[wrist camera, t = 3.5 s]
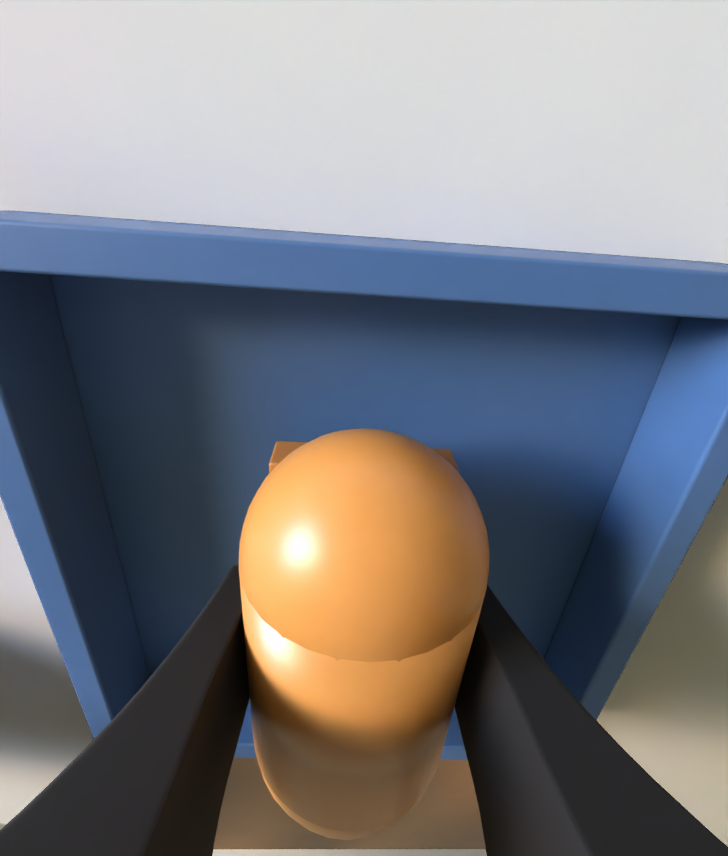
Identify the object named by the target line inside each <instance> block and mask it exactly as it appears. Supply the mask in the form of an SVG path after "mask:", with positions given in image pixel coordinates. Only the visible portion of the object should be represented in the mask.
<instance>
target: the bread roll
mask: <svg viewBox="0 0 728 856" xmlns="http://www.w3.org/2000/svg"><path fill="white" fill-rule="evenodd" d="M489 554H490V551H489V543H488V536H487V530H486V526H485V523H484V519H483V516H482V513H481V511H480V508H479V506H478V503H477V501H476V498H475V497H474V495H473V493H472V491H471V490H470V488H469V486H468V485H467V484H466V482H465V481H464V480H463V478H462V477H461V476H460V472H459V469H458V467H457V464H456V462H455V459H454V457H453V454H452V452H451V450H450V449H436V448H430V447H428V446H427V445H425V444H423V443H421V442H420V441H418V440H415V439H413V438H410V437H408V436H405V435H402V434H398V433H395V432H391V431H386V430H381V429H371V428H361V429H349V430H341V431H336V432H332V433H329V434H325V435H322V436H320V437H318V438H316V439H314V440H312V441H310V442H287V441H277V442H276V444H275V447H274V450H273V453H272V456H271V459H270V462H269V474H268V476H267V477H266V478H265V480H264V481H263V483H262V484H261V486H260V488H259V489H258V491H257V492H256V494H255V496H254V498H253V500H252V502H251V504H250V506H249V508H248V511H247V514H246V518H245V521H244V524H243V528H242V533H241V538H240V546H239V578H240V589H241V601H242V613H243V625H244V636H245V648H246V660H247V671H248V683H249V695H250V707H251V718H252V730H253V740H254V748H255V753H256V756H257V760H258V764H259V766H260V769H261V773H262V776H263V779H264V782H265V783H266V785H267V787H268V789H269V791H270V793H271V794H272V796H273V798H274V800H275V801H276V802H277V803H278V804H279V805H280V806H281V808H282V809H283V810H284V811H285V812H286V813H287V814H288V816H290V817H291V818H292V819H294V820H295V821H296V822H298V823H299V824H301V825H302V826H303V827H305V828H306V829H308V830H309V831H312V832H314V833H317V834H319V835H322V836H324V837H327V838H333V839H341V840H353V839H360V838H367V837H369V836H372V835H374V834H377V833H379V832H382V831H384V830H387V829H389V828H390V827H392V826H393V825H395V824H396V823H397V822H399V821H400V820H401V819H403V818H404V817H406V816H407V815H408V814H409V813H410V812H411V810H412V809H413V808H414V807H415V806H416V805H417V803H418V802H419V801H420V800H421V799H422V797H423V795H424V793H425V791H426V789H427V788H428V786H429V784H430V782H431V780H432V779H433V777H434V774H435V772H436V769H437V767H438V764H439V761H440V757H441V754H442V750H443V746H444V743H445V739H446V735H447V732H448V728H449V724H450V721H451V717H452V713H453V710H454V706H455V703H456V699H457V695H458V692H459V688H460V684H461V681H462V677H463V673H464V670H465V666H466V662H467V659H468V655H469V652H470V648H471V644H472V641H473V637H474V633H475V630H476V626H477V622H478V619H479V615H480V611H481V608H482V604H483V601H484V597H485V593H486V589H487V582H488V575H489Z"/></svg>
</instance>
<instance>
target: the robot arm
mask: <svg viewBox="0 0 728 856" xmlns="http://www.w3.org/2000/svg"><path fill="white" fill-rule="evenodd" d="M249 698H250V695H249V683H248V671H247V660H246V648H245V636H244V625H243V613H242V601H241V589H240V578H239V566H238V565H234V566H233V567H231V568H230V569H229V571H228V572H227V574H226V575H225V577H224V579H223V580H222V582H221V583H220V585H219V586H218V588H217V589H216V591H215V592H214V594H213V595H212V597H211V598H210V600H209V601H208V603H207V604H206V605H205V607H204V608H203V610H202V611H201V612H200V614H199V615H198V617H197V618H196V619H195V621H194V622H193V623H192V625H191V626H190V627H189V629H188V630H187V631H186V633H185V634H184V635H183V637H182V638H181V639H180V640H179V642H178V643H177V644H176V646H175V647H174V648H173V650H172V651H171V652H170V653H169V655H168V656H167V657H166V658H165V659H164V661H163V662H162V663H161V664H160V666H159V667H158V668H157V669H156V670H155V672H154V673H153V674H152V675H151V676H150V678H149V679H148V680H147V681H146V682H145V684H144V685H143V686H142V687H141V688H140V690H139V691H138V692H137V693H136V694H135V695H134V696H133V698H132V699H131V700H130V701H129V702H128V703H127V704H126V705H125V707H124V708H123V709H122V710H121V711H120V712H119V713H118V714H117V715H116V717H115V718H114V719H113V720H112V721H111V722H110V723H109V724H108V725H107V726H106V727H105V728H104V729H103V730H102V732H101V733H100V734H99V735H98V736H97V737H96V738H95V739H94V740H93V741H92V742H91V743H90V744H89V745H88V746H87V747H86V748H85V749H84V750H83V751H82V752H81V753H80V754H79V755H78V756H77V757H76V758H75V759H74V760H73V761H72V762H71V763H70V764H69V765H68V766H67V767H66V768H65V769H64V770H63V771H62V772H61V773H60V774H59V775H58V776H57V777H56V778H55V779H54V780H53V781H52V782H51V783H50V784H49V785H48V786H47V787H46V788H45V789H44V790H43V791H42V792H41V793H40V794H39V795H38V796H37V797H36V798H35V799H34V800H33V801H31V802H30V803H29V804H28V805H27V806H26V807H25V808H24V809H23V810H22V811H21V812H20V813H19V814H18V815H16V816H15V817H14V818H13V819H12V820H11V821H10V822H9V823H8V824H6V825H5V826H4V827H3V828H2V829H1V830H0V856H212V853H213V848H214V842H215V837H216V832H217V826H218V821H219V816H220V811H221V806H222V802H223V798H224V793H225V789H226V785H227V781H228V777H229V773H230V770H231V766H232V762H233V758H234V755H235V751H236V747H237V743H238V740H239V736H240V732H241V728H242V725H243V721H244V717H245V713H246V710H247V706H248V702H249ZM454 707H455V711H456V715H457V719H458V723H459V727H460V731H461V735H462V739H463V743H464V747H465V751H466V755H467V759H468V763H469V767H470V771H471V775H472V779H473V783H474V788H475V793H476V797H477V802H478V807H479V811H480V817H481V823H482V829H483V835H484V841H485V847H486V853H487V856H728V847H727V846H726V845H725V844H724V843H722V842H721V841H720V840H719V839H718V838H717V837H716V836H715V835H713V834H712V833H711V832H710V831H709V830H708V829H707V828H706V827H705V826H704V825H703V824H701V823H700V822H699V821H698V820H697V819H696V818H695V817H694V816H693V815H692V814H691V813H690V812H688V811H687V810H686V809H685V808H684V807H683V806H682V805H681V804H680V803H679V802H678V801H677V800H675V799H674V798H673V797H672V796H671V795H670V794H669V793H668V792H667V791H666V790H665V789H664V788H663V787H661V786H660V785H659V784H658V783H657V782H656V781H655V780H654V779H653V778H652V777H651V776H650V775H649V774H648V773H647V772H646V771H645V770H644V769H643V768H642V767H641V766H640V765H639V764H638V763H637V762H636V761H635V760H634V759H633V758H632V757H631V756H630V755H629V754H628V753H627V752H626V751H625V750H624V749H623V748H622V747H621V746H620V745H619V744H618V743H617V742H616V741H615V740H614V739H613V738H612V737H611V736H610V735H609V734H608V733H607V732H606V731H605V729H604V728H603V727H602V726H601V725H600V724H599V723H598V722H597V721H596V720H595V719H594V718H593V717H592V715H591V714H590V713H589V712H588V711H587V710H586V709H585V708H584V707H583V705H582V704H581V703H580V702H579V701H578V700H577V699H576V697H575V696H574V695H573V694H572V693H571V692H570V690H569V689H568V688H567V687H566V686H565V685H564V683H563V682H562V681H561V680H560V679H559V678H558V676H557V675H556V674H555V673H554V672H553V670H552V669H551V668H550V667H549V665H548V664H547V663H546V662H545V660H544V659H543V658H542V657H541V655H540V654H539V653H538V652H537V650H536V649H535V648H534V647H533V645H532V644H531V643H530V641H529V640H528V639H527V638H526V636H525V635H524V634H523V632H522V631H521V630H520V628H519V627H518V626H517V624H516V623H515V622H514V620H513V619H512V618H511V616H510V615H509V614H508V612H507V611H506V610H505V608H504V607H503V605H502V604H501V603H500V601H499V600H498V598H497V597H496V596H495V594H494V593H493V591H492V590H491V589H490V587H489V586H488V584H487V589H486V593H485V597H484V601H483V604H482V608H481V611H480V615H479V619H478V622H477V626H476V630H475V633H474V637H473V641H472V644H471V648H470V652H469V655H468V659H467V662H466V666H465V670H464V673H463V677H462V681H461V684H460V688H459V692H458V695H457V699H456V703H455V706H454Z"/></svg>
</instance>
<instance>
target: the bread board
mask: <svg viewBox="0 0 728 856" xmlns="http://www.w3.org/2000/svg"><path fill="white" fill-rule="evenodd" d="M213 849H486V847H485V841H484V835H483V829H482V823H481V817H480V811H479V807H478V802H477V797H476V793H475V788H474V783H473V779H472V775H471V771H470V767H469V763H468V760H440V761H439V764H438V767H437V769H436V772H435V774H434V777H433V779H432V780H431V782H430V784H429V786H428V788H427V789H426V791H425V793H424V795H423V797H422V799H421V800H420V801H419V802H418V803H417V805H416V806H415V807H414V808H413V809H412V810H411V812H410V813H409V814H408V815H407V816H406V817H404V818H403V819H401V820H400V821H399V822H397V823H396V824H395V825H393V826H392V827H390V828H389V829H387V830H384V831H382V832H379V833H377V834H374V835H372V836H369V837H367V838H360V839H353V840H341V839H333V838H327V837H324V836H322V835H319V834H317V833H314V832H312V831H309V830H308V829H306V828H305V827H303V826H302V825H301V824H299V823H298V822H296V821H295V820H294V819H292V818H291V817H290V816H288V814H287V813H286V812H285V811H284V810H283V809H282V808H281V806H280V805H279V804H278V803H277V802H276V801H275V800H274V798H273V796H272V794H271V793H270V791H269V789H268V787H267V785H266V783H265V782H264V779H263V776H262V773H261V769H260V766H259V764H258V760H257V758H233V762H232V766H231V770H230V773H229V777H228V781H227V785H226V789H225V793H224V798H223V802H222V806H221V811H220V816H219V821H218V826H217V832H216V837H215V842H214V848H213Z"/></svg>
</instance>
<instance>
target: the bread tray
mask: <svg viewBox="0 0 728 856" xmlns="http://www.w3.org/2000/svg"><path fill="white" fill-rule="evenodd" d="M361 428H371V429H381V430H386V431H391V432H395V433H398V434H402V435H405V436H408V437H410V438H413V439H415V440H418V441H420V442H421V443H423V444H425V445H427V446H428V447H430V448H436V449H450V450H451V452H452V454H453V457H454V459H455V462H456V464H457V467H458V469H459V472H460V476H461V477H462V478H463V480H464V481H465V482H466V484H467V485H468V486H469V488H470V490H471V491H472V493H473V495H474V497H475V498H476V501H477V503H478V506H479V508H480V511H481V513H482V516H483V519H484V523H485V526H486V530H487V536H488V543H489V551H490V554H489V575H488V582H487V584H488V586H489V587H490V589H491V590H492V591H493V593H494V594H495V596H496V597H497V598H498V600H499V601H500V603H501V604H502V605H503V607H504V608H505V610H506V611H507V612H508V614H509V615H510V616H511V618H512V619H513V620H514V622H515V623H516V624H517V626H518V627H519V628H520V630H521V631H522V632H523V634H524V635H525V636H526V638H527V639H528V640H529V641H530V643H531V644H532V645H533V647H534V648H535V649H536V650H537V652H538V653H539V654H540V655H541V657H542V658H543V659H544V660H545V662H546V663H547V664H548V665H549V667H550V668H551V669H552V670H553V672H554V673H555V674H556V675H557V676H558V678H559V679H560V680H561V681H562V682H563V683H564V685H565V686H566V687H567V688H568V689H569V690H570V692H571V693H572V694H573V695H574V696H575V697H576V699H577V700H578V701H579V702H580V703H581V704H582V705H583V707H584V708H585V709H586V710H587V711H588V712H589V713H590V714H591V715H592V717H593V718H594V719H595V720H597V718H598V716H599V714H600V712H601V710H602V709H603V707H604V705H605V703H606V701H607V699H608V697H609V696H610V694H611V692H612V690H613V688H614V686H615V684H616V683H617V681H618V679H619V677H620V675H621V673H622V672H623V670H624V668H625V666H626V664H627V662H628V660H629V659H630V657H631V655H632V653H633V651H634V649H635V647H636V646H637V644H638V642H639V640H640V638H641V636H642V634H643V633H644V631H645V629H646V627H647V625H648V623H649V622H650V620H651V618H652V616H653V614H654V612H655V610H656V609H657V607H658V605H659V603H660V601H661V599H662V597H663V596H664V594H665V592H666V590H667V588H668V586H669V584H670V583H671V581H672V579H673V577H674V575H675V573H676V572H677V570H678V568H679V566H680V564H681V562H682V560H683V559H684V557H685V555H686V553H687V551H688V549H689V547H690V546H691V544H692V542H693V540H694V538H695V536H696V534H697V533H698V531H699V529H700V527H701V525H702V523H703V522H704V520H705V518H706V516H707V514H708V512H709V510H710V509H711V507H712V505H713V503H714V501H715V499H716V497H717V496H718V494H719V492H720V490H721V488H722V486H723V484H724V483H725V481H726V479H727V477H728V264H723V263H715V262H701V261H688V260H674V259H660V258H647V257H633V256H620V255H606V254H593V253H579V252H566V251H552V250H539V249H525V248H512V247H498V246H484V245H471V244H457V243H444V242H430V241H417V240H403V239H390V238H376V237H363V236H349V235H336V234H322V233H308V232H295V231H281V230H268V229H254V228H241V227H227V226H214V225H200V224H187V223H173V222H160V221H146V220H132V219H119V218H105V217H92V216H78V215H65V214H51V213H38V212H24V211H0V497H1V499H2V502H3V505H4V507H5V510H6V512H7V515H8V518H9V520H10V523H11V525H12V528H13V531H14V533H15V536H16V538H17V541H18V544H19V546H20V549H21V551H22V554H23V556H24V559H25V562H26V564H27V567H28V569H29V572H30V575H31V577H32V580H33V582H34V585H35V588H36V590H37V593H38V595H39V598H40V601H41V603H42V606H43V608H44V611H45V614H46V616H47V619H48V621H49V624H50V626H51V629H52V632H53V634H54V637H55V639H56V642H57V645H58V647H59V650H60V652H61V655H62V658H63V660H64V663H65V665H66V668H67V671H68V673H69V676H70V678H71V681H72V684H73V686H74V689H75V691H76V694H77V696H78V699H79V702H80V704H81V707H82V709H83V712H84V715H85V717H86V720H87V722H88V725H89V728H90V730H91V733H92V735H93V738H94V739H95V738H96V737H97V736H98V735H99V734H100V733H101V732H102V730H103V729H104V728H105V727H106V726H107V725H108V724H109V723H110V722H111V721H112V720H113V719H114V718H115V717H116V715H117V714H118V713H119V712H120V711H121V710H122V709H123V708H124V707H125V705H126V704H127V703H128V702H129V701H130V700H131V699H132V698H133V696H134V695H135V694H136V693H137V692H138V691H139V690H140V688H141V687H142V686H143V685H144V684H145V682H146V681H147V680H148V679H149V678H150V676H151V675H152V674H153V673H154V672H155V670H156V669H157V668H158V667H159V666H160V664H161V663H162V662H163V661H164V659H165V658H166V657H167V656H168V655H169V653H170V652H171V651H172V650H173V648H174V647H175V646H176V644H177V643H178V642H179V640H180V639H181V638H182V637H183V635H184V634H185V633H186V631H187V630H188V629H189V627H190V626H191V625H192V623H193V622H194V621H195V619H196V618H197V617H198V615H199V614H200V612H201V611H202V610H203V608H204V607H205V605H206V604H207V603H208V601H209V600H210V598H211V597H212V595H213V594H214V592H215V591H216V589H217V588H218V586H219V585H220V583H221V582H222V580H223V579H224V577H225V575H226V574H227V572H228V571H229V569H230V568H231V567H233V566H234V565H238V566H239V546H240V538H241V533H242V528H243V524H244V521H245V518H246V514H247V511H248V508H249V506H250V504H251V502H252V500H253V498H254V496H255V494H256V492H257V491H258V489H259V488H260V486H261V484H262V483H263V481H264V480H265V478H266V477H267V476H268V474H269V462H270V459H271V456H272V453H273V450H274V447H275V444H276V442H277V441H287V442H310V441H312V440H314V439H316V438H318V437H320V436H322V435H325V434H329V433H332V432H336V431H341V430H349V429H361ZM234 758H257V756H256V753H255V748H254V740H253V730H252V718H251V707H250V698H249V702H248V706H247V710H246V713H245V717H244V721H243V725H242V728H241V732H240V736H239V740H238V743H237V747H236V751H235V755H234ZM440 760H468V759H467V755H466V751H465V747H464V743H463V739H462V735H461V731H460V727H459V723H458V719H457V715H456V711H455V707H454V710H453V713H452V717H451V721H450V724H449V728H448V732H447V735H446V739H445V743H444V746H443V750H442V754H441V757H440Z"/></svg>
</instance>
